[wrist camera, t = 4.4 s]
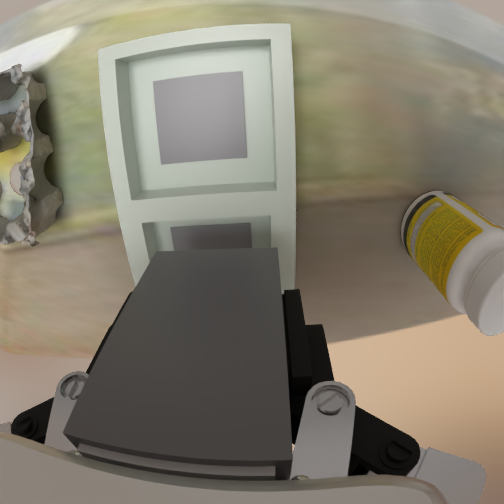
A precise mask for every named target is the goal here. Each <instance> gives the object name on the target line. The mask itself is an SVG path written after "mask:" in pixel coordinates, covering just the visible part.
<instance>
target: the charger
mask: <svg viewBox="0 0 504 504" xmlns="http://www.w3.org/2000/svg"><path fill="white" fill-rule="evenodd" d="M63 434H64V435H65V436H66V437H67V438H68V440H69V441H70V442H71V443H72V444H73V445H74V446H75V447H76V448H77V451H78V452H79V453H80V454H81V455H82V456H83V457H86V458H90V459H93V460H97V461H101V462H105V463H110V464H114V465H118V466H123V467H128V468H133V469H138V470H143V471H149V472H155V473H162V474H168V475H176V476H184V477H194V478H205V479H218V480H239V481H281V480H286V478H287V477H290V475H291V468H292V461H293V454H292V435H291V417H290V401H289V385H288V370H287V356H286V342H285V329H284V317H283V304H282V292H281V281H280V269H279V258H278V247H274V248H241V249H210V250H180V251H156V253H155V255H154V256H153V258H152V260H151V261H150V263H149V265H148V266H147V268H146V270H145V271H144V273H143V275H142V277H141V278H140V280H139V282H138V284H137V285H136V287H135V289H134V291H133V292H132V294H131V296H130V298H129V299H128V301H127V303H126V305H125V307H124V308H123V310H122V312H121V314H120V316H119V318H118V319H117V321H116V323H115V325H114V327H113V329H112V331H111V332H110V334H109V336H108V338H107V340H106V342H105V344H104V346H103V348H102V350H101V352H100V354H99V356H98V358H97V360H96V362H95V364H94V366H93V368H92V370H91V372H90V374H89V376H88V378H87V380H86V382H85V384H84V386H83V388H82V391H81V393H80V395H79V397H78V399H77V401H76V403H75V406H74V408H73V410H72V412H71V415H70V417H69V419H68V421H67V424H66V426H65V428H64V431H63Z"/></svg>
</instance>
